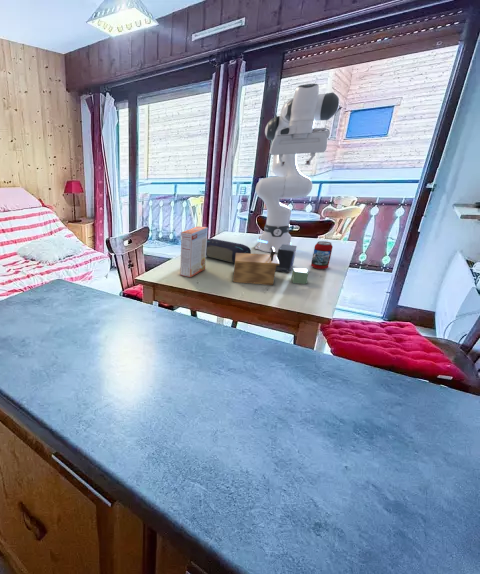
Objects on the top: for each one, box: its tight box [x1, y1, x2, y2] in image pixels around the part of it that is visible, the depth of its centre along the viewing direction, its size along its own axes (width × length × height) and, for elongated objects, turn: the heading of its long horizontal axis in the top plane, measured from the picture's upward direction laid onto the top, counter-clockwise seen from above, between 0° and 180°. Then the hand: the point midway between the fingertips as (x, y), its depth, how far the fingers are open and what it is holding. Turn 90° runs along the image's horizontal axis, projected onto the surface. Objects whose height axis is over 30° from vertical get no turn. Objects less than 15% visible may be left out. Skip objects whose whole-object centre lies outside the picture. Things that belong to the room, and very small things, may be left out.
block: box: [290, 267, 310, 285], centre depth 138 cm, size 5×5×5 cm
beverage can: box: [310, 240, 333, 270], centre depth 150 cm, size 7×7×12 cm
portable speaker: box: [206, 238, 252, 264], centre depth 169 cm, size 25×10×10 cm, turn 36°
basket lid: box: [234, 247, 279, 265], centre depth 140 cm, size 17×13×5 cm
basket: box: [232, 255, 276, 286], centre depth 143 cm, size 16×13×9 cm
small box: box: [275, 244, 297, 273], centre depth 152 cm, size 11×6×10 cm, turn 143°
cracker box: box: [179, 225, 209, 278], centre depth 152 cm, size 14×6×21 cm, turn 134°
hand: (294, 165), depth 138 cm, fingers open, 8 cm apart
